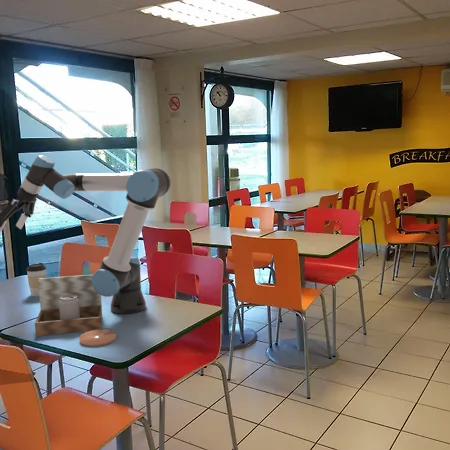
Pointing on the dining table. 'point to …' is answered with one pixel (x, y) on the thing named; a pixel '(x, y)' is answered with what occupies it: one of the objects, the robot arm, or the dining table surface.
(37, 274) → the coffee cup
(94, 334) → the brown wooden disc
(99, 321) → the hinged wooden box
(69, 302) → the can
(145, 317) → the dining table surface
